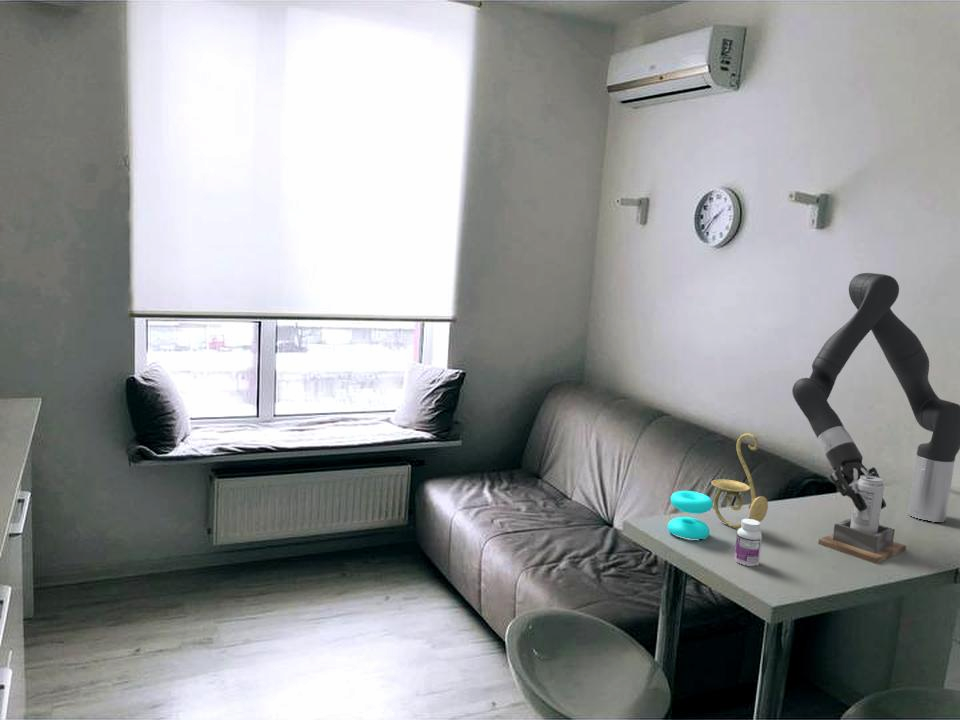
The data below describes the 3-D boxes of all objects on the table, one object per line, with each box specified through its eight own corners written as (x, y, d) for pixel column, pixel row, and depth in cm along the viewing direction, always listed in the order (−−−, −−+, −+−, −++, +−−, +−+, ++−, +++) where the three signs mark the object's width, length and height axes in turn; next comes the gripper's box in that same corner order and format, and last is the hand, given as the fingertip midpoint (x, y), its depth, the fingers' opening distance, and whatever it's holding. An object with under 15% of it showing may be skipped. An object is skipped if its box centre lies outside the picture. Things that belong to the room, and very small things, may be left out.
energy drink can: (882, 541, 193) (890, 481, 191) (862, 542, 191) (870, 482, 189) (863, 531, 199) (871, 473, 197) (843, 533, 197) (851, 474, 195)
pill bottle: (736, 555, 184) (741, 515, 183) (760, 561, 182) (765, 520, 180) (731, 563, 180) (736, 521, 178) (755, 569, 177) (760, 527, 176)
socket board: (849, 532, 206) (851, 512, 205) (905, 550, 195) (908, 529, 195) (818, 543, 196) (820, 523, 195) (876, 563, 185) (879, 542, 184)
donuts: (722, 499, 193) (691, 504, 188) (717, 539, 194) (687, 544, 189) (692, 487, 202) (662, 491, 197) (688, 525, 203) (658, 530, 198)
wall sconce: (768, 533, 201) (779, 436, 197) (744, 539, 195) (756, 440, 192) (722, 516, 212) (733, 424, 208) (699, 521, 206) (709, 427, 203)
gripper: (828, 442, 196) (863, 504, 187) (869, 439, 202) (905, 499, 193) (809, 457, 201) (841, 518, 192) (849, 454, 207) (882, 513, 198)
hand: (873, 508), depth 193 cm, fingers closed on energy drink can, 6 cm apart
